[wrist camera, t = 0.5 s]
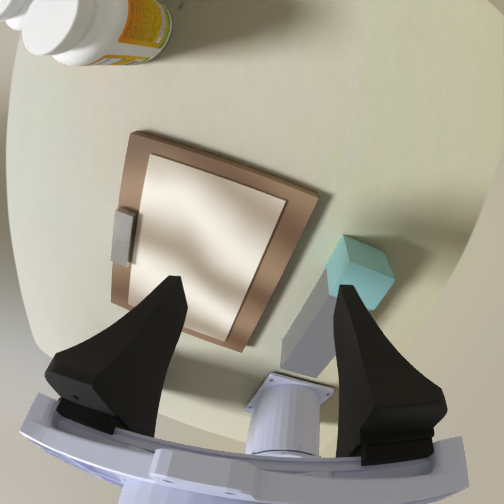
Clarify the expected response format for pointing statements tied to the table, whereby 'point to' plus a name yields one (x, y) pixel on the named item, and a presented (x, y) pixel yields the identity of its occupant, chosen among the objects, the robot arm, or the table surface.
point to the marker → (324, 300)
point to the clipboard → (204, 235)
